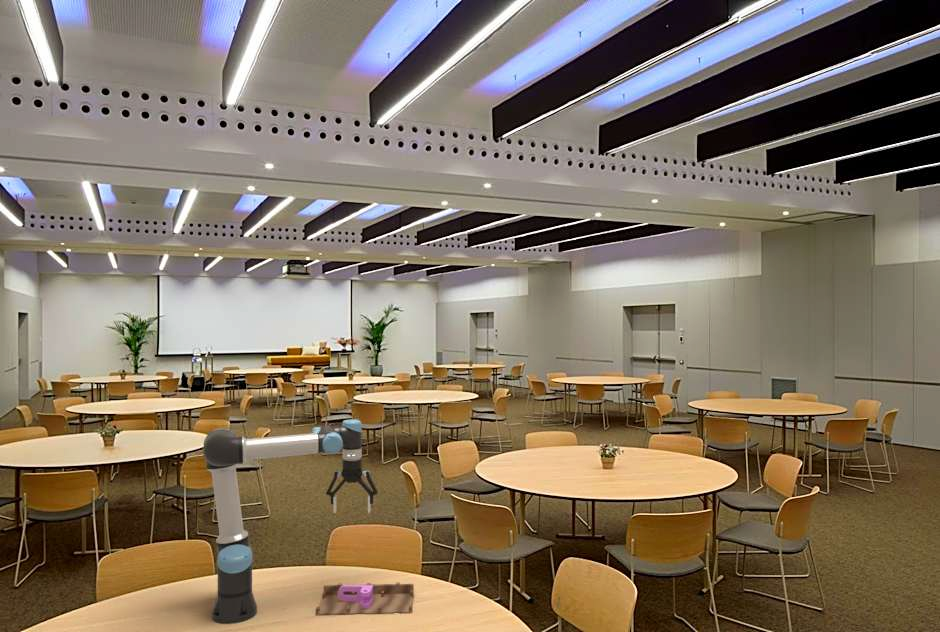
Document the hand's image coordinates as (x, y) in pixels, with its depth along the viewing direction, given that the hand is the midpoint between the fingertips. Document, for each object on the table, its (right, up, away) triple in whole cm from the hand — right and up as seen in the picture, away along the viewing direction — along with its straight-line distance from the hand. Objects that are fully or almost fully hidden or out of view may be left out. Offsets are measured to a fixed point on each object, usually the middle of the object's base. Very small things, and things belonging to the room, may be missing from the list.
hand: (352, 512), depth 262 cm
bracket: (+4, -25, -17) cm, 31 cm away
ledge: (+9, -29, -20) cm, 36 cm away
